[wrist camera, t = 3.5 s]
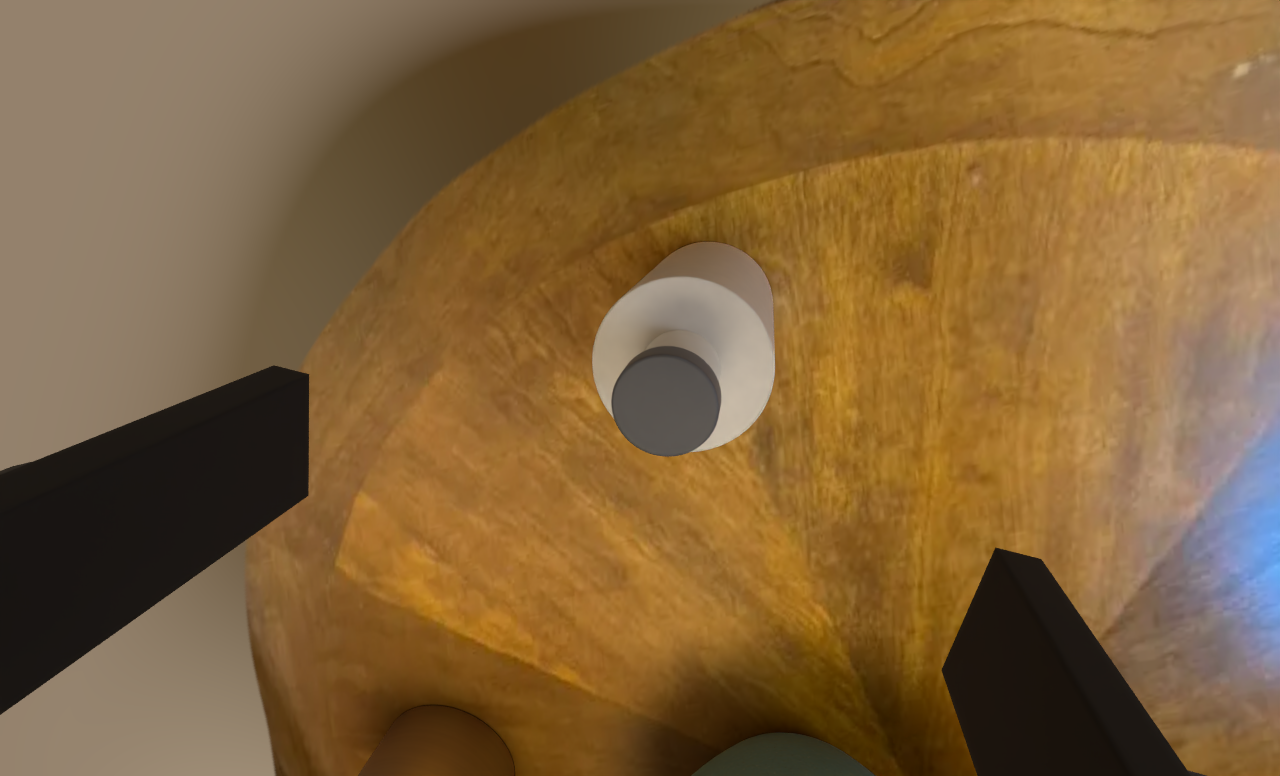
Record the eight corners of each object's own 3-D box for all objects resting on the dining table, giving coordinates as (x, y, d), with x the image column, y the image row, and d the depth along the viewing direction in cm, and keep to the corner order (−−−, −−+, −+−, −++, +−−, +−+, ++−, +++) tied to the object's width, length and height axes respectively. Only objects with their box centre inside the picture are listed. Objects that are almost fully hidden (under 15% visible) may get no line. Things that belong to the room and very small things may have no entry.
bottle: (619, 310, 31) (517, 408, 19) (703, 213, 29) (653, 250, 17) (711, 392, 32) (673, 543, 19) (801, 302, 30) (824, 406, 17)
